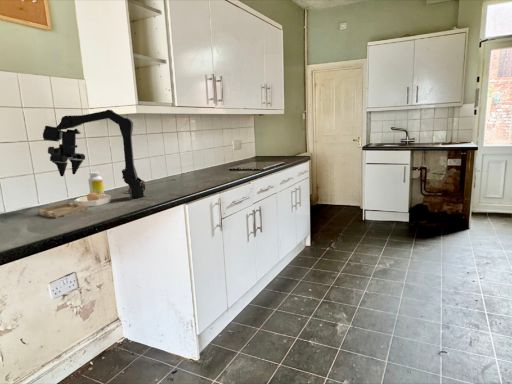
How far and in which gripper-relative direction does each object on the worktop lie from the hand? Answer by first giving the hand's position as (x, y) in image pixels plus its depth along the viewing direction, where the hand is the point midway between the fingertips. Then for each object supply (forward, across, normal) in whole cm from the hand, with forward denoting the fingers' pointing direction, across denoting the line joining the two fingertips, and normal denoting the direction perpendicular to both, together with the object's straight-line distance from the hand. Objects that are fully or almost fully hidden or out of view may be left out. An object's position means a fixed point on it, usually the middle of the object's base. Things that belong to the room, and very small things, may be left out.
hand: (67, 175), depth 168 cm
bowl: (+12, 0, +14) cm, 18 cm away
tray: (+14, +16, +8) cm, 22 cm away
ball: (+12, 0, +14) cm, 18 cm away
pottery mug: (+10, -26, +24) cm, 37 cm away
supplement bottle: (+13, -17, +6) cm, 22 cm away
